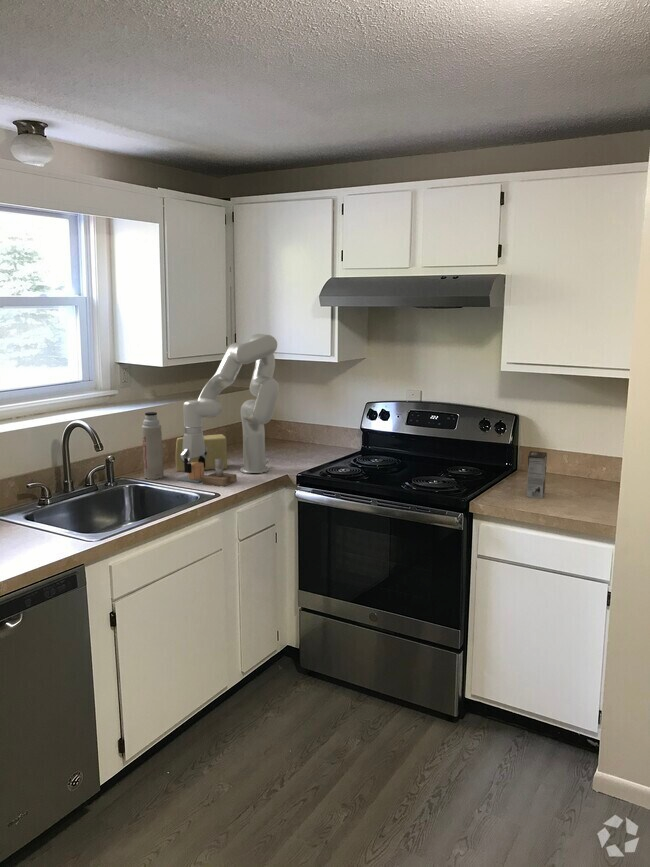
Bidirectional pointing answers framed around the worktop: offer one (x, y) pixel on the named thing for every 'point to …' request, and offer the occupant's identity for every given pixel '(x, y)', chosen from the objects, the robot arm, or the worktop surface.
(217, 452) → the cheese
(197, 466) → the cap
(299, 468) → the worktop surface
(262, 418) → the robot arm
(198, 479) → the mat
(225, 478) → the post stand
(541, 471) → the coffee box
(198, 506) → the worktop surface
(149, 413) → the thermos bottle
